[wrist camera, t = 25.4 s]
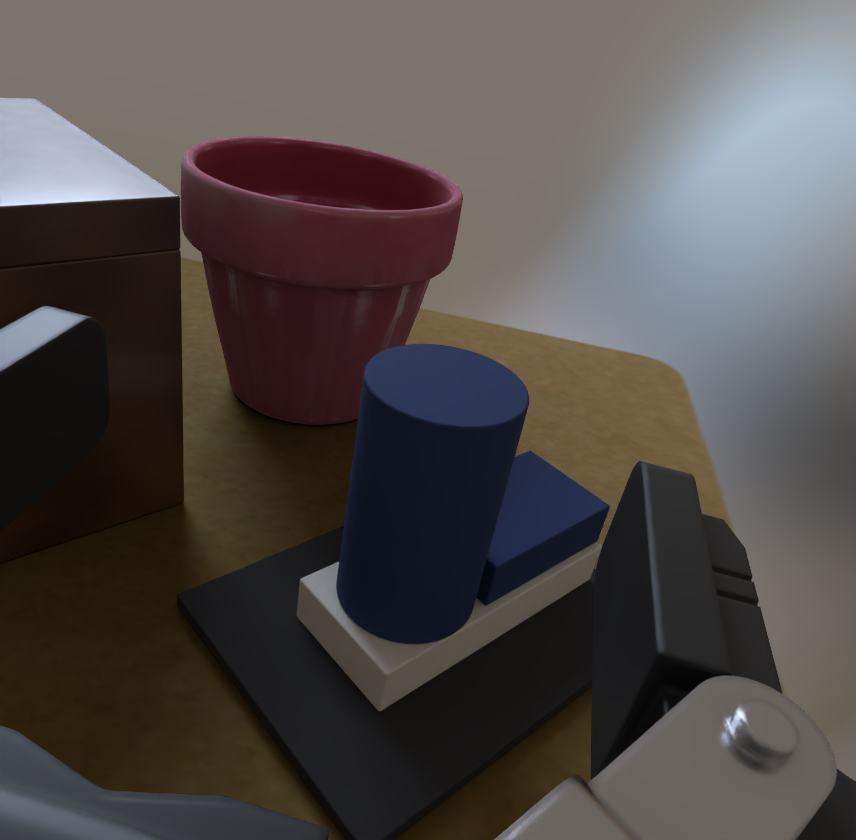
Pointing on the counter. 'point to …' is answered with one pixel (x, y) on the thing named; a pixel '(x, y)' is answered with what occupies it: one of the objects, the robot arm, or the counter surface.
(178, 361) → the shoe bench
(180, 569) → the counter surface
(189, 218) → the flower pot
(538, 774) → the counter surface
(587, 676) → the shoe mat
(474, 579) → the boot
